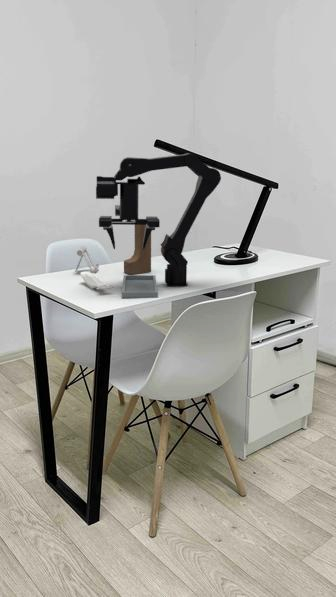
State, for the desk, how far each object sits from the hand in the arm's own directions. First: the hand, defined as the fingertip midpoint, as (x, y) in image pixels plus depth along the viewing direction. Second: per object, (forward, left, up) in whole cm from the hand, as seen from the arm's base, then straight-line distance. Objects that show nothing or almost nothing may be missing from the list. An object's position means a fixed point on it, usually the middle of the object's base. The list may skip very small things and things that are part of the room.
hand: (129, 249), depth 177 cm
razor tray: (-3, +4, -12) cm, 13 cm away
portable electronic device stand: (+16, -24, -13) cm, 31 cm away
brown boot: (-3, -21, -13) cm, 24 cm away
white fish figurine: (+11, +2, -13) cm, 17 cm away
